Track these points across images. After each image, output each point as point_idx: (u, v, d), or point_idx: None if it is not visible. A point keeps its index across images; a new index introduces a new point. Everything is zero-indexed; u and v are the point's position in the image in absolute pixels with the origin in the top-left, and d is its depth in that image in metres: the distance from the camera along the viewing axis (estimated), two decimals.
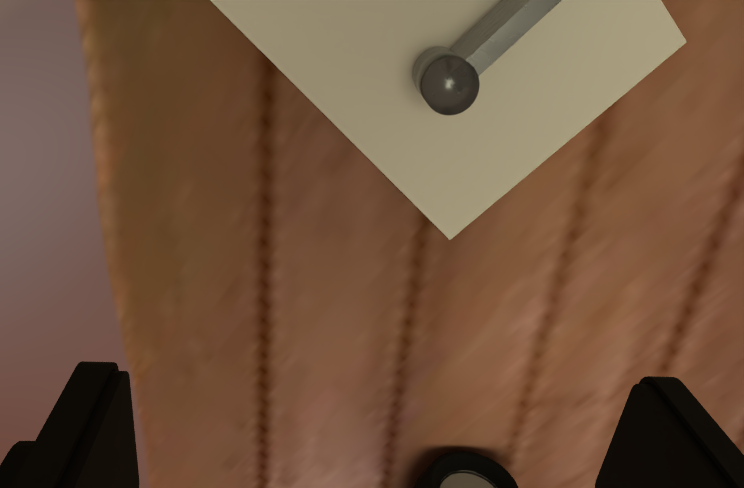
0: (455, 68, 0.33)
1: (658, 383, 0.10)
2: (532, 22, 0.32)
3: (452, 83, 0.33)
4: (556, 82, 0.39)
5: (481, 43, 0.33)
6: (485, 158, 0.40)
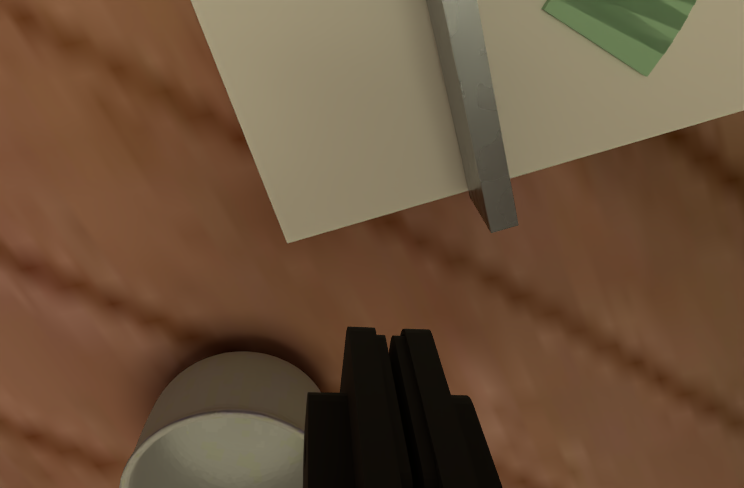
0: None
1: (407, 334, 0.11)
2: (458, 55, 0.22)
3: None
4: (311, 71, 0.26)
5: None
6: None
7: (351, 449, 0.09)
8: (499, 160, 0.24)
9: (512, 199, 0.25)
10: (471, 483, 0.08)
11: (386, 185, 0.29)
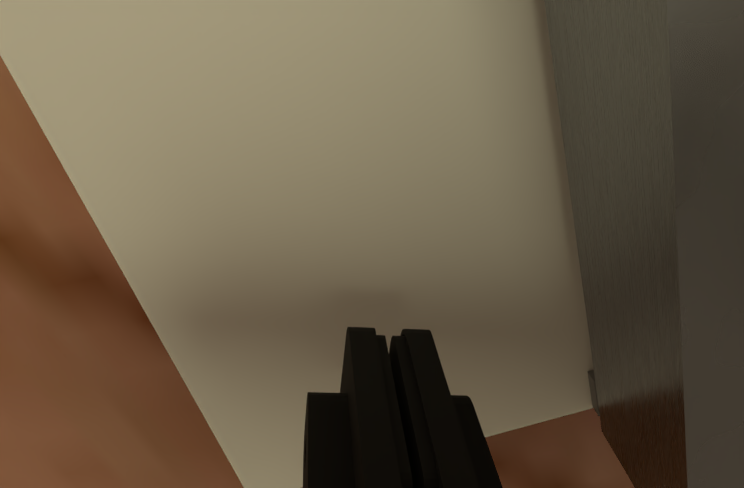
0: None
1: (407, 334, 0.11)
2: (691, 247, 0.08)
3: None
4: (291, 213, 0.12)
5: None
6: None
7: (351, 449, 0.09)
8: (741, 461, 0.10)
9: None
10: (471, 483, 0.08)
11: None
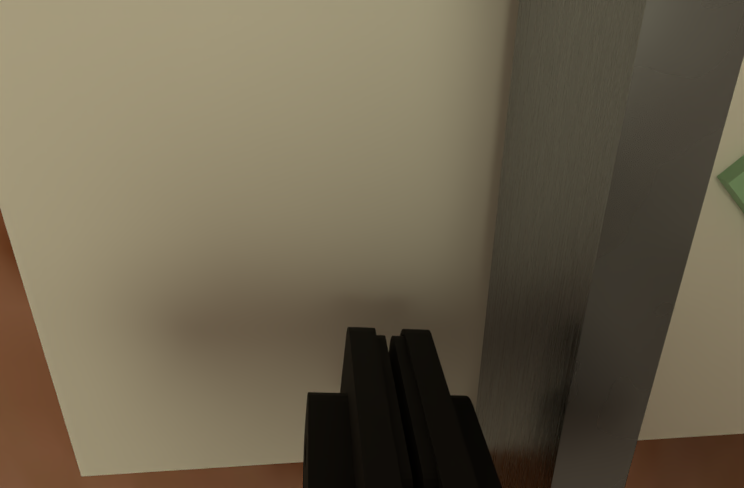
0: None
1: (406, 334, 0.11)
2: (600, 303, 0.08)
3: None
4: (203, 173, 0.11)
5: (714, 83, 0.07)
6: None
7: (351, 449, 0.09)
8: None
9: None
10: (471, 483, 0.08)
11: None
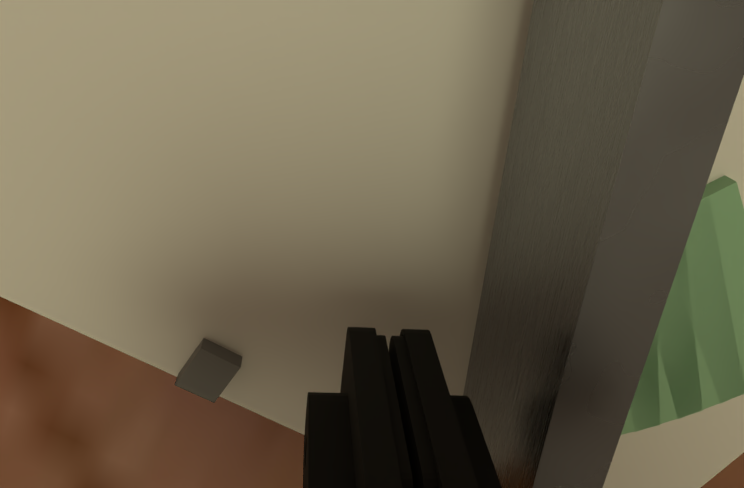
0: None
1: (406, 334, 0.11)
2: (599, 287, 0.08)
3: None
4: None
5: (720, 82, 0.07)
6: None
7: (351, 449, 0.09)
8: None
9: None
10: (470, 483, 0.08)
11: (38, 247, 0.12)
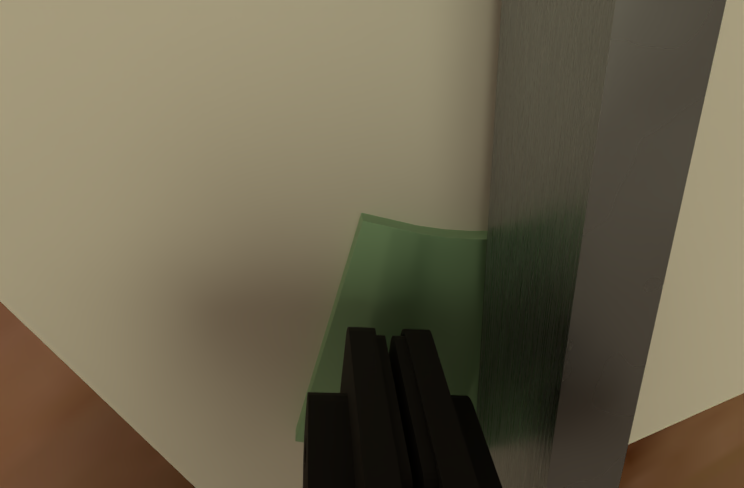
0: None
1: (407, 334, 0.11)
2: (589, 279, 0.08)
3: None
4: None
5: (694, 55, 0.07)
6: None
7: (351, 449, 0.09)
8: None
9: None
10: (471, 483, 0.08)
11: None
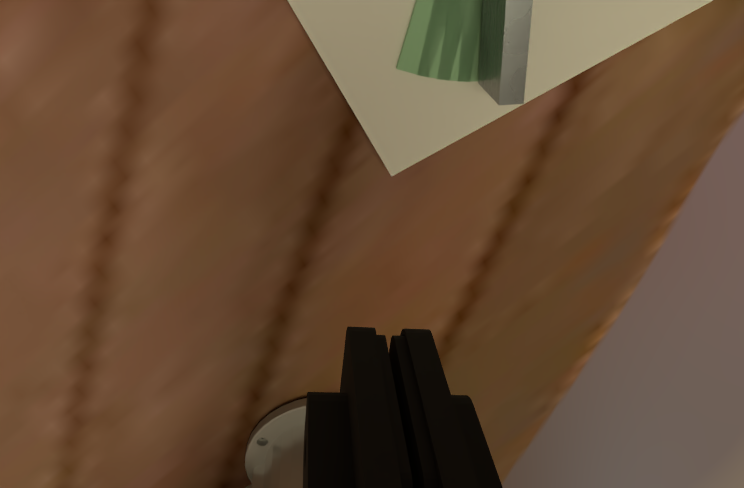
0: None
1: (407, 334, 0.11)
2: None
3: None
4: None
5: None
6: None
7: (351, 449, 0.09)
8: (523, 36, 0.27)
9: (524, 77, 0.28)
10: (471, 483, 0.08)
11: None
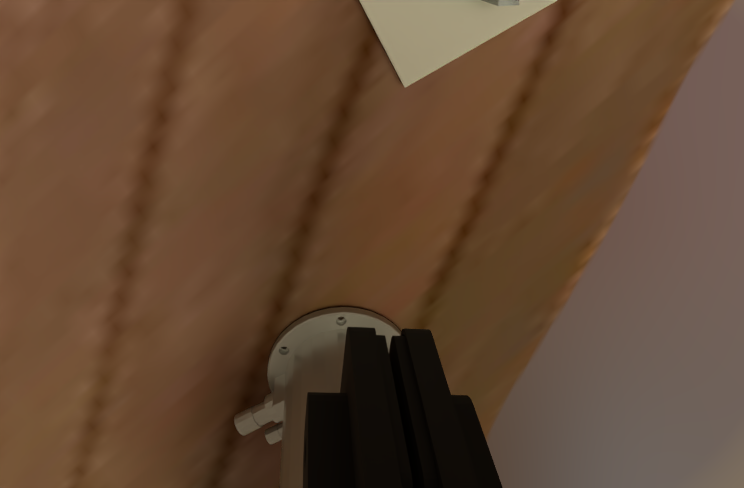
0: None
1: (407, 334, 0.11)
2: None
3: None
4: None
5: None
6: None
7: (351, 449, 0.09)
8: None
9: None
10: (471, 483, 0.08)
11: None
